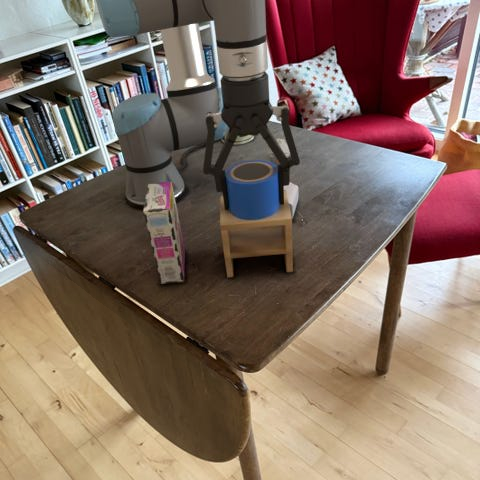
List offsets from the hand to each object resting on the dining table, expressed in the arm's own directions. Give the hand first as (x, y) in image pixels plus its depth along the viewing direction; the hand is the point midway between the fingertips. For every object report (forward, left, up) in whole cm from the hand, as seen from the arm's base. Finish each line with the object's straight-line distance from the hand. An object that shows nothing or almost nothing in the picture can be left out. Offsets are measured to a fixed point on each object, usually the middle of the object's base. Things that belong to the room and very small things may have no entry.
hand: (254, 203), depth 86 cm
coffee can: (-64, -3, -13) cm, 66 cm away
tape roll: (0, 0, -1) cm, 1 cm away
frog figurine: (-42, +8, -13) cm, 45 cm away
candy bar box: (0, -18, -13) cm, 22 cm away
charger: (-21, +6, -13) cm, 26 cm away
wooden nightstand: (0, 0, -13) cm, 13 cm away
